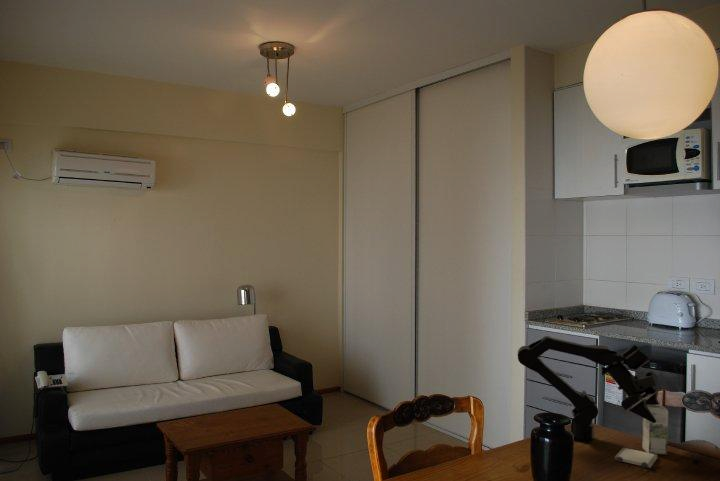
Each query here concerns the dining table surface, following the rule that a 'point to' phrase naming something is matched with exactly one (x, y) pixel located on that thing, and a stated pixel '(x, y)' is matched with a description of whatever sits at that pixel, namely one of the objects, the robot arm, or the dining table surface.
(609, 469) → the dining table surface
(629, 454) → the dolly
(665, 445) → the syrup box
